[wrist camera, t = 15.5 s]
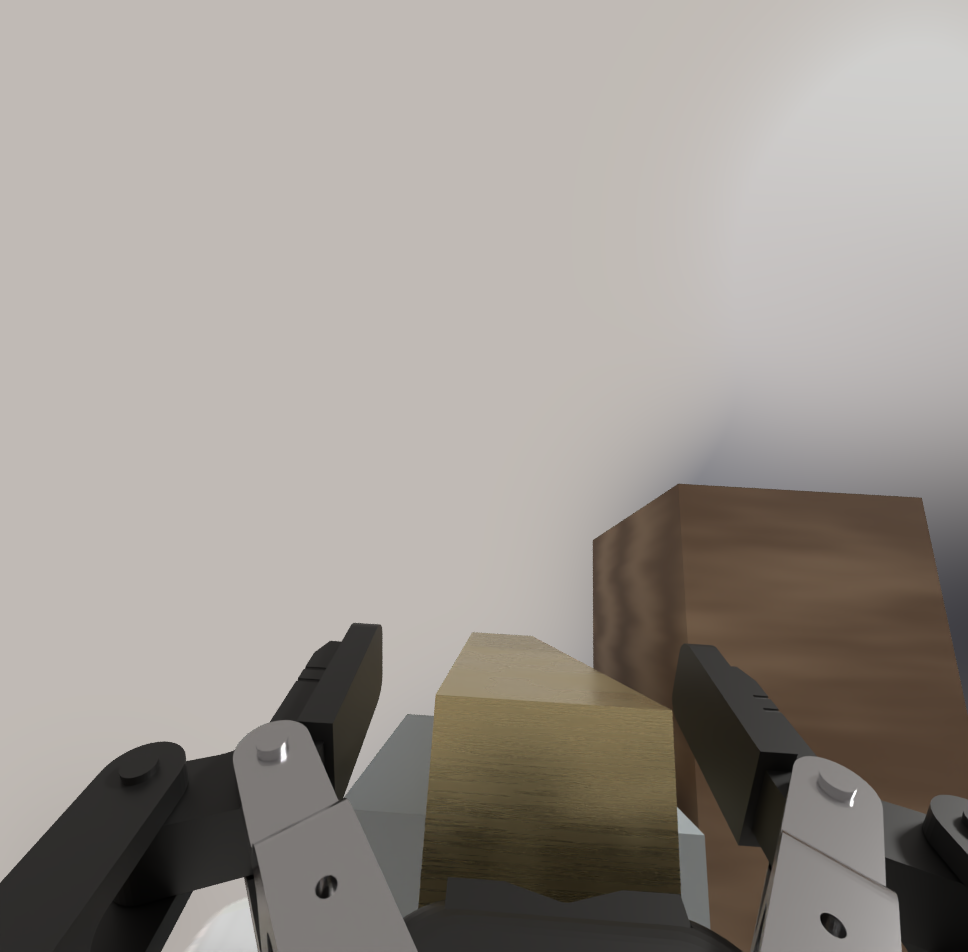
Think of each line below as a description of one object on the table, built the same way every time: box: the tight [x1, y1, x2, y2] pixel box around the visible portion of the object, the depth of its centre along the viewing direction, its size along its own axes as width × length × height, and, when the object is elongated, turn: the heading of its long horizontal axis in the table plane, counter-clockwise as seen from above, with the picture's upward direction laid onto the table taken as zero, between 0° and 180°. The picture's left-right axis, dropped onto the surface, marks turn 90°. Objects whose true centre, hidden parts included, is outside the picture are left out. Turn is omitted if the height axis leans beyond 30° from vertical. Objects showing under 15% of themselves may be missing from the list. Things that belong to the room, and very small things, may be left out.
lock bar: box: [418, 632, 681, 909], centre depth 19 cm, size 24×4×4 cm, turn 0°
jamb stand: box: [593, 484, 968, 952], centre depth 22 cm, size 16×10×32 cm, turn 0°
